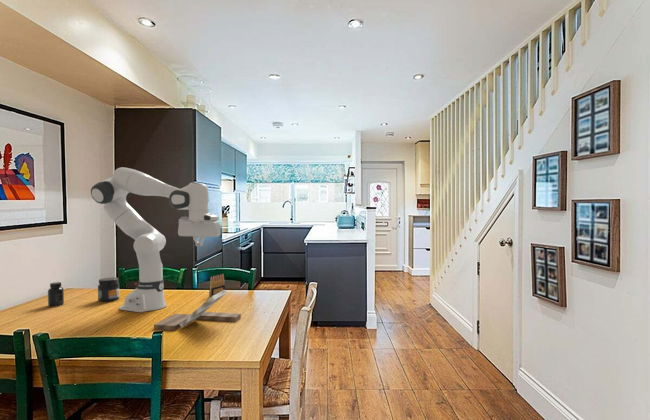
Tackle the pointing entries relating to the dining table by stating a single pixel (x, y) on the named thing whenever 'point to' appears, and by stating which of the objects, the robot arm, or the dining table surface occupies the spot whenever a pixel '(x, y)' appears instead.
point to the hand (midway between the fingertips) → (199, 245)
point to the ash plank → (203, 308)
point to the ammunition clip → (216, 285)
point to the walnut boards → (176, 319)
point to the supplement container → (108, 289)
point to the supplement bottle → (55, 294)
